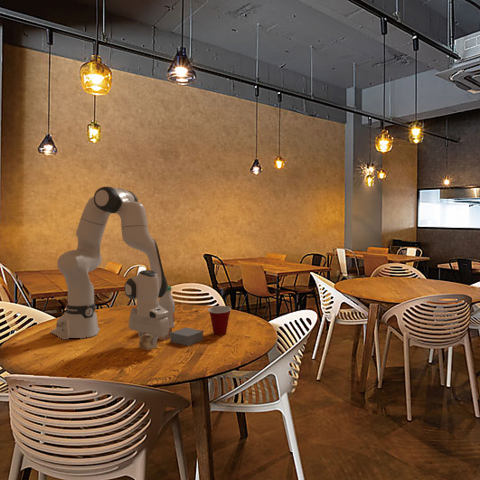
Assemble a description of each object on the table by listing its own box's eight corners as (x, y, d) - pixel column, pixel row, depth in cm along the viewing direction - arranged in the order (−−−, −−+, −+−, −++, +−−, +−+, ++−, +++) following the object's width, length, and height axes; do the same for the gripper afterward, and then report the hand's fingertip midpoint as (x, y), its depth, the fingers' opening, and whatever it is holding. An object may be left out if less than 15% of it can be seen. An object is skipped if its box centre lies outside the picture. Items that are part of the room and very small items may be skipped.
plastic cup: (202, 333, 183) (203, 308, 182) (219, 329, 191) (219, 304, 190) (219, 338, 176) (219, 312, 175) (235, 333, 183) (236, 308, 183)
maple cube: (139, 348, 162) (139, 336, 161) (148, 344, 166) (148, 333, 166) (147, 350, 159) (147, 338, 159) (156, 347, 163) (156, 335, 163)
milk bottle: (171, 329, 189) (171, 288, 188) (155, 328, 191) (155, 287, 190) (176, 325, 197) (176, 285, 196) (162, 324, 198) (162, 284, 197)
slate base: (170, 341, 170) (170, 332, 170) (185, 336, 179) (185, 327, 179) (187, 345, 165) (188, 336, 165) (203, 340, 173) (203, 331, 173)
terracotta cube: (155, 338, 175) (155, 327, 174) (163, 336, 179) (163, 325, 179) (163, 340, 172) (163, 329, 172) (171, 338, 176) (171, 326, 176)
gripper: (125, 308, 165) (125, 340, 166) (160, 315, 153) (160, 350, 154) (136, 305, 170) (136, 337, 171) (171, 312, 159) (171, 346, 159)
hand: (148, 343), depth 162 cm, fingers closed on maple cube, 5 cm apart
